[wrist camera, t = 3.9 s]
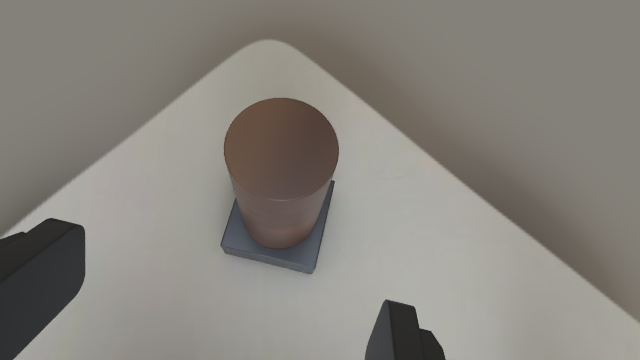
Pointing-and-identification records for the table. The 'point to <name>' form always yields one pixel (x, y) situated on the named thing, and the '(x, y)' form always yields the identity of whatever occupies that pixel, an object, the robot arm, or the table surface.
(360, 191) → the table surface
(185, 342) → the table surface
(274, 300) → the table surface
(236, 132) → the stamp
